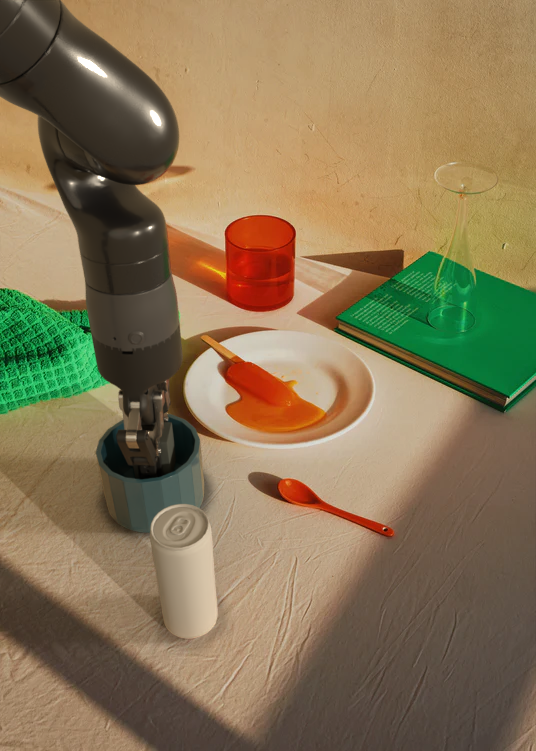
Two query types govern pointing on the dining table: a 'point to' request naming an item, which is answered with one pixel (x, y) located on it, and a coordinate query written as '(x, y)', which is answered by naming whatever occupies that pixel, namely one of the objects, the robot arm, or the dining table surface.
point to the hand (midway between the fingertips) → (155, 467)
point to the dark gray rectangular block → (164, 451)
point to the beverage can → (185, 570)
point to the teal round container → (149, 496)
